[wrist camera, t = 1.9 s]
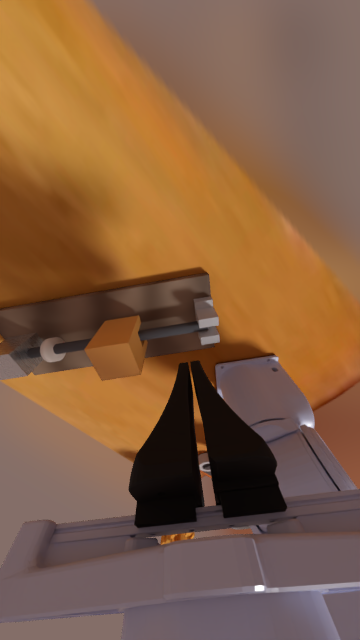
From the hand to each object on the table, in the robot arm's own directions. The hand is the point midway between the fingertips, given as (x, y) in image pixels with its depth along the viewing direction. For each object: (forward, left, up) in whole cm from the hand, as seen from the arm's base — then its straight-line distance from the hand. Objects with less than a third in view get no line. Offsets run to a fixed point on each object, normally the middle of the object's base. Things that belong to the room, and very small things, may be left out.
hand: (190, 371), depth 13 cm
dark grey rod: (+8, 0, -8) cm, 11 cm away
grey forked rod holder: (-2, 0, -9) cm, 10 cm away
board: (+10, 0, -9) cm, 13 cm away
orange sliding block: (+7, 0, -8) cm, 10 cm away
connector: (+21, 0, -8) cm, 22 cm away
